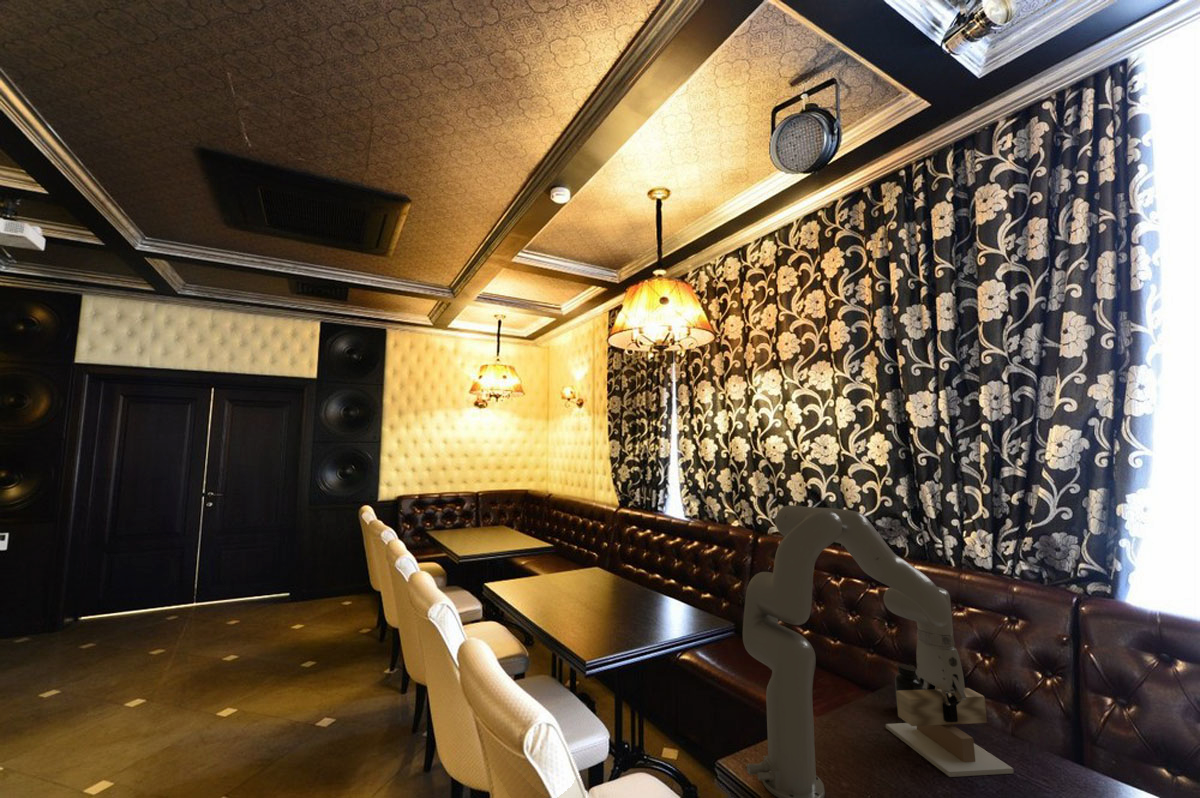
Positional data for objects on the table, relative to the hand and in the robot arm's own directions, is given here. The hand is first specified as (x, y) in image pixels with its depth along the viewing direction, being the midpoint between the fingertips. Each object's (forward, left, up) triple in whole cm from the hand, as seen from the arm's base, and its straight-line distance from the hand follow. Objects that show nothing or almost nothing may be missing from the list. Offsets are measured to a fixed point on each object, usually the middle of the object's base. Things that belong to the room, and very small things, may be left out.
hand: (941, 714), depth 117 cm
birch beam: (0, 0, -1) cm, 1 cm away
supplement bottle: (+5, +17, -8) cm, 19 cm away
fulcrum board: (0, 0, -8) cm, 8 cm away
